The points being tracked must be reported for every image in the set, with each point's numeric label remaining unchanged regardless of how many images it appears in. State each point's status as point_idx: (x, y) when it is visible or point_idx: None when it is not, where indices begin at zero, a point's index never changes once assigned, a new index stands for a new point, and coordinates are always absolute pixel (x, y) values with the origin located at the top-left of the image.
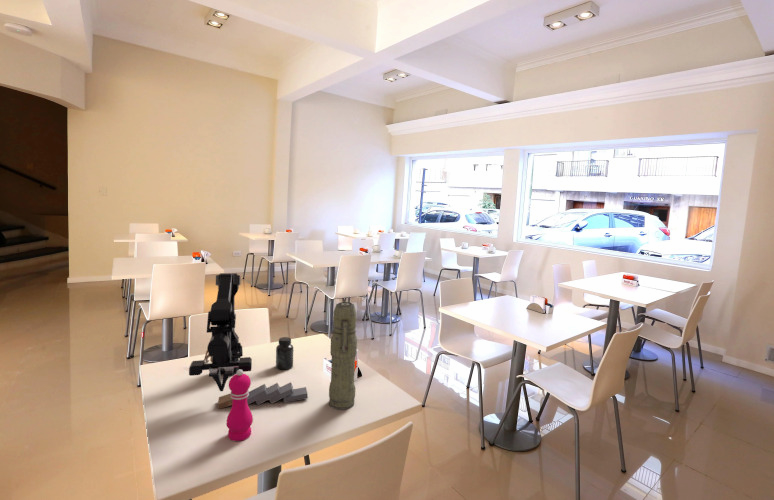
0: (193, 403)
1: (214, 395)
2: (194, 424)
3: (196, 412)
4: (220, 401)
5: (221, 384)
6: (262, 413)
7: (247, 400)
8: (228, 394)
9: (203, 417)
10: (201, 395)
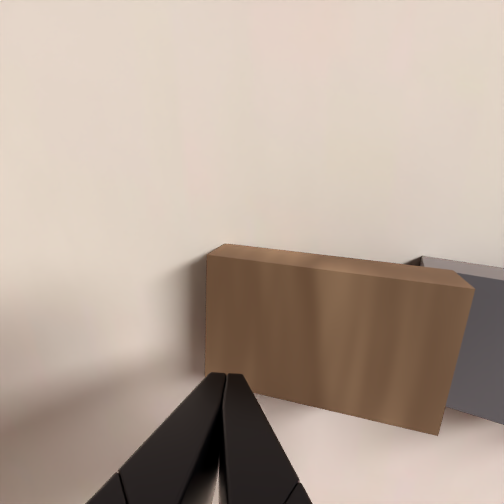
0: (8, 216)
1: (162, 100)
2: (91, 488)
3: (69, 361)
4: (225, 355)
5: (213, 441)
6: (495, 475)
7: (450, 402)
8: (297, 279)
9: (129, 431)
10: (37, 64)
